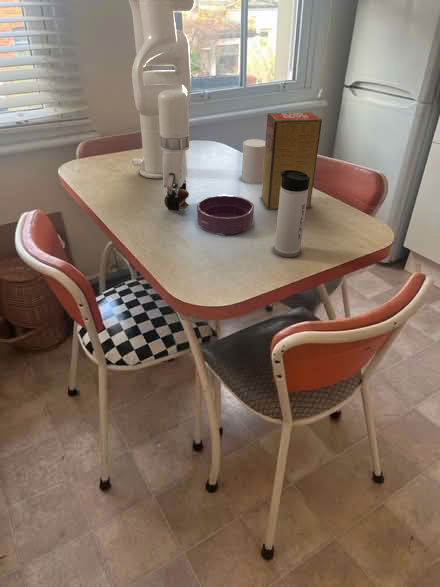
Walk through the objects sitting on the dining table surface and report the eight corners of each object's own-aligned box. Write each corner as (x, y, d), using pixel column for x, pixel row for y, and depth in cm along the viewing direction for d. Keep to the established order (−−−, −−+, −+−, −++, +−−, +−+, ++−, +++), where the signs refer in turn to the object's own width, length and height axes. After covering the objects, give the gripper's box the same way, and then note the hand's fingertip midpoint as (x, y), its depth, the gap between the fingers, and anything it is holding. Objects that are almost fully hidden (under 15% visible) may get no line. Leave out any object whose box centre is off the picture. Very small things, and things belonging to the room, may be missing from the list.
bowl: (192, 233, 116) (192, 215, 113) (202, 209, 128) (202, 193, 125) (250, 238, 114) (251, 220, 111) (254, 213, 127) (256, 197, 124)
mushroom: (199, 199, 128) (187, 180, 126) (188, 211, 122) (176, 191, 120) (178, 208, 132) (167, 190, 130) (167, 221, 126) (155, 202, 124)
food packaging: (301, 195, 138) (312, 111, 124) (311, 207, 130) (324, 119, 116) (260, 197, 136) (266, 112, 122) (267, 210, 129) (275, 120, 114)
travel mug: (270, 245, 111) (278, 167, 100) (296, 245, 112) (306, 167, 100) (275, 258, 106) (283, 177, 95) (302, 257, 107) (313, 177, 95)
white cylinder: (265, 175, 152) (268, 139, 145) (265, 184, 146) (268, 147, 139) (242, 174, 153) (244, 138, 146) (240, 182, 146) (242, 146, 139)
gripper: (168, 132, 123) (171, 190, 133) (152, 151, 109) (157, 214, 119) (194, 133, 123) (195, 192, 133) (182, 153, 109) (184, 217, 119)
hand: (177, 202), depth 126 cm, fingers open, 9 cm apart
